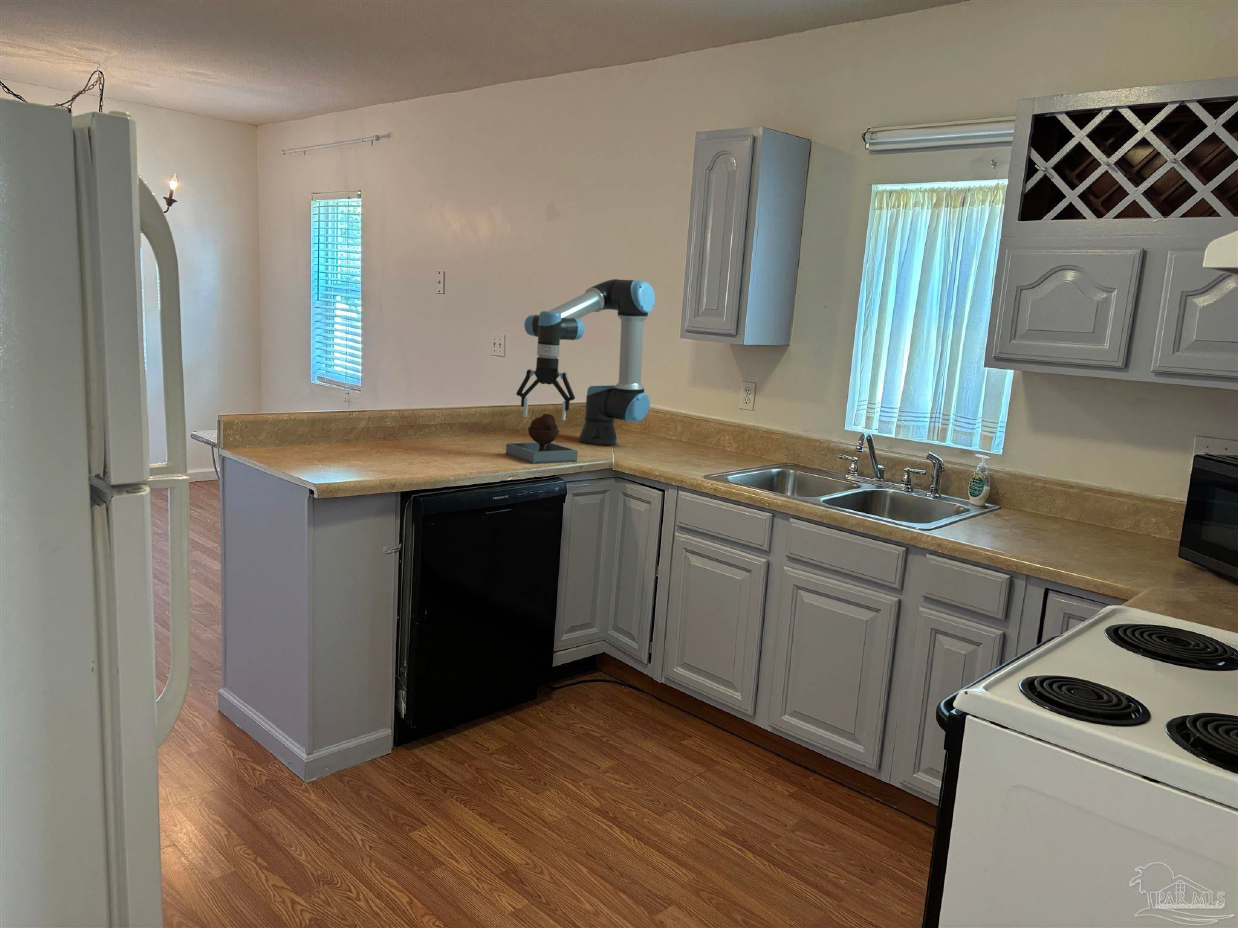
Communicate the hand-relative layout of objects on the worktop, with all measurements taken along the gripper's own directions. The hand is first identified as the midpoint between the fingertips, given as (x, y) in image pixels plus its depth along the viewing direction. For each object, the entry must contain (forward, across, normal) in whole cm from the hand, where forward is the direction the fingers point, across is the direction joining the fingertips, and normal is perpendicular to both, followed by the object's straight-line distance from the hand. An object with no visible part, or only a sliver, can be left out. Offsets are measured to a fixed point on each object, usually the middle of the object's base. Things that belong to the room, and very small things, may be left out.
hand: (544, 418), depth 306 cm
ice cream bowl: (+13, 0, -1) cm, 13 cm away
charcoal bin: (+14, 0, 0) cm, 14 cm away
